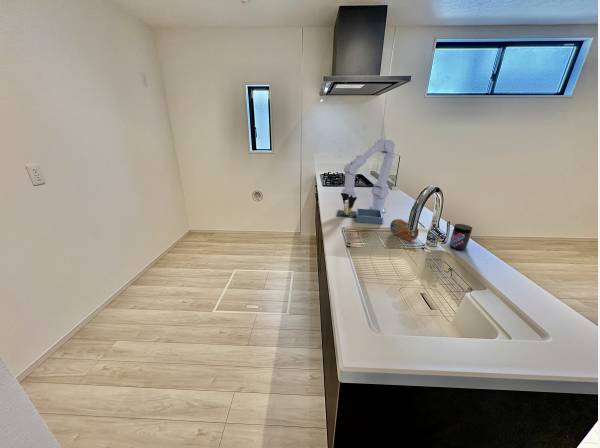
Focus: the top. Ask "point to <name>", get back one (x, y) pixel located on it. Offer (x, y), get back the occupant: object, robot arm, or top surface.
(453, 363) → the top surface
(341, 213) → the mat
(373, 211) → the crate
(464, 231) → the supplement container
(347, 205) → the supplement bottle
